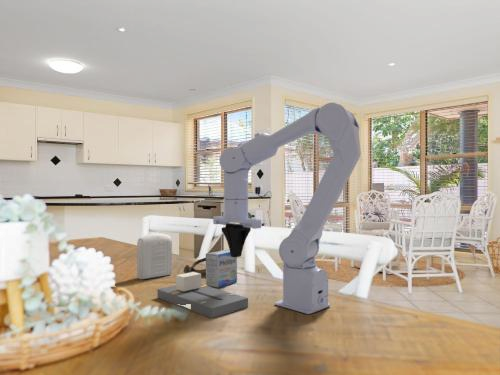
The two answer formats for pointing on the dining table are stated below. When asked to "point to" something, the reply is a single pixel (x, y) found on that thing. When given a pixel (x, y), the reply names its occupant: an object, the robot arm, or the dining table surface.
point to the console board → (204, 300)
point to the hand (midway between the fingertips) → (236, 256)
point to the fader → (188, 281)
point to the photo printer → (154, 256)
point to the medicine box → (220, 269)
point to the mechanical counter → (191, 269)
